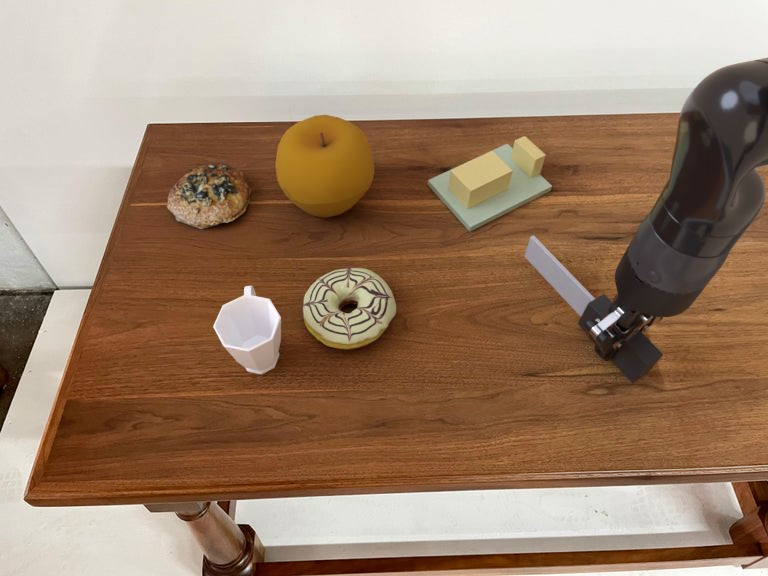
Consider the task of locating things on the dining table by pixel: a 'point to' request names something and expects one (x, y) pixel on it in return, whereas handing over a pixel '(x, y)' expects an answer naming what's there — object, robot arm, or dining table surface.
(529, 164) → the butter slice
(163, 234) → the dining table surface
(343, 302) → the decorated donut
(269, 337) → the cup
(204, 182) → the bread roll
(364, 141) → the apple
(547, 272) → the knife
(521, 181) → the butter board
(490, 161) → the butter block
